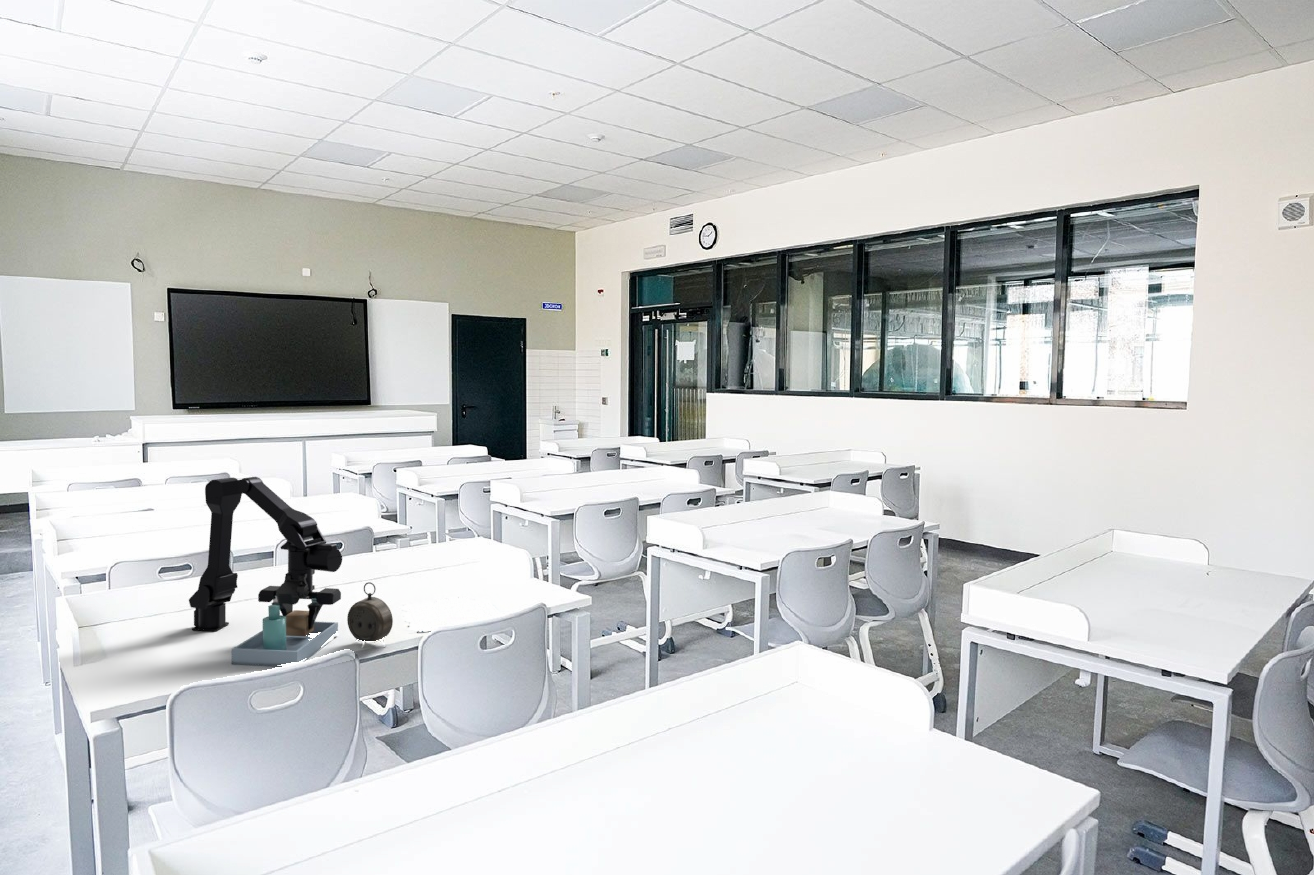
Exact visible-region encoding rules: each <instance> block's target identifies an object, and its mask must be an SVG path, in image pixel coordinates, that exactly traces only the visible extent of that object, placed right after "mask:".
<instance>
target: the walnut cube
mask: <svg viewBox="0 0 1314 875" xmlns="http://www.w3.org/2000/svg"><path fill="white" fill-rule="evenodd" d="M285 617H286V636H306V635H308V634H309V633H310V632H312V631H313V630H314V624H313V627H312V629H310V630H309V626H308V619H309V610H297V609H296V610H295V609H294V610H293V611H292V612H291V613H289V614H287V615H286V616H285Z"/></svg>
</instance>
